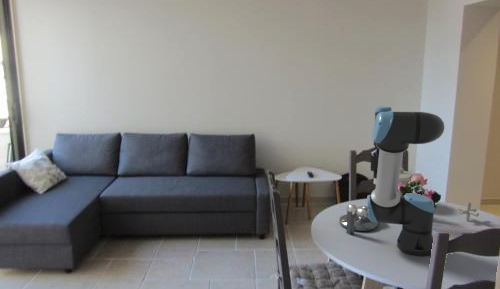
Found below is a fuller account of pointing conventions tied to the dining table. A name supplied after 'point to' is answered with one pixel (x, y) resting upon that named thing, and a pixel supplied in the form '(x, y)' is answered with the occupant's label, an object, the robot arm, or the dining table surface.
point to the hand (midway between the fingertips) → (379, 183)
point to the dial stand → (350, 219)
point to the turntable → (358, 223)
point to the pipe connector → (468, 211)
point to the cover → (362, 213)
